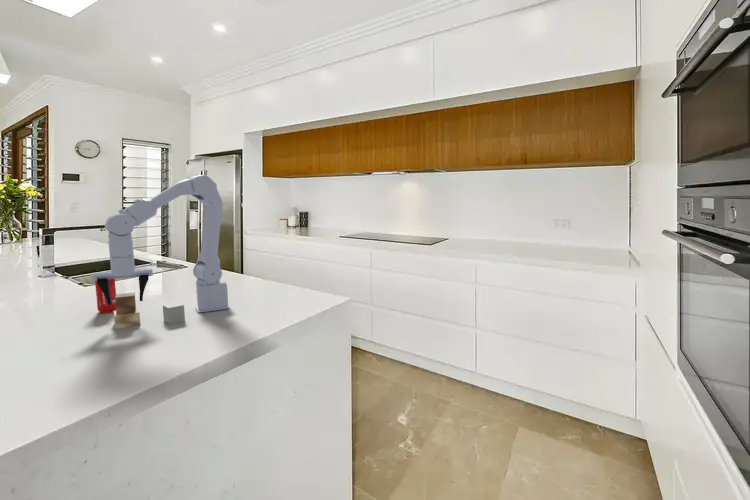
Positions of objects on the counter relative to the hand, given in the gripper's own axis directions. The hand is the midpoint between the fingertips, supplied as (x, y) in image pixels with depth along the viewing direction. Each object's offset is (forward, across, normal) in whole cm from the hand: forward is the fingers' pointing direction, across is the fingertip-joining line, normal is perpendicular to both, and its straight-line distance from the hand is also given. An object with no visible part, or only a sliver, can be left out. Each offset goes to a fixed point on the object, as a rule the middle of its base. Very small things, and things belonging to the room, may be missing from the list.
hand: (125, 302), depth 110 cm
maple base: (+7, 0, 0) cm, 7 cm away
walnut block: (+3, 0, 0) cm, 3 cm away
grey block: (+7, -12, +4) cm, 14 cm away
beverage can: (+7, +6, -18) cm, 20 cm away
